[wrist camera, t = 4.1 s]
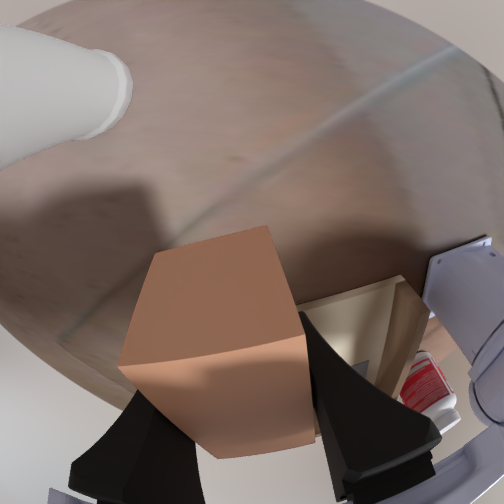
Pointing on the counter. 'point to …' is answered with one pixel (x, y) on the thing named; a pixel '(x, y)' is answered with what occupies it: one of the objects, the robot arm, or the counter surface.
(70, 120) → the bottle
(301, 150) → the counter surface
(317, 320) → the tray
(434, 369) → the pill bottle
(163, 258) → the block
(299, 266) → the counter surface
